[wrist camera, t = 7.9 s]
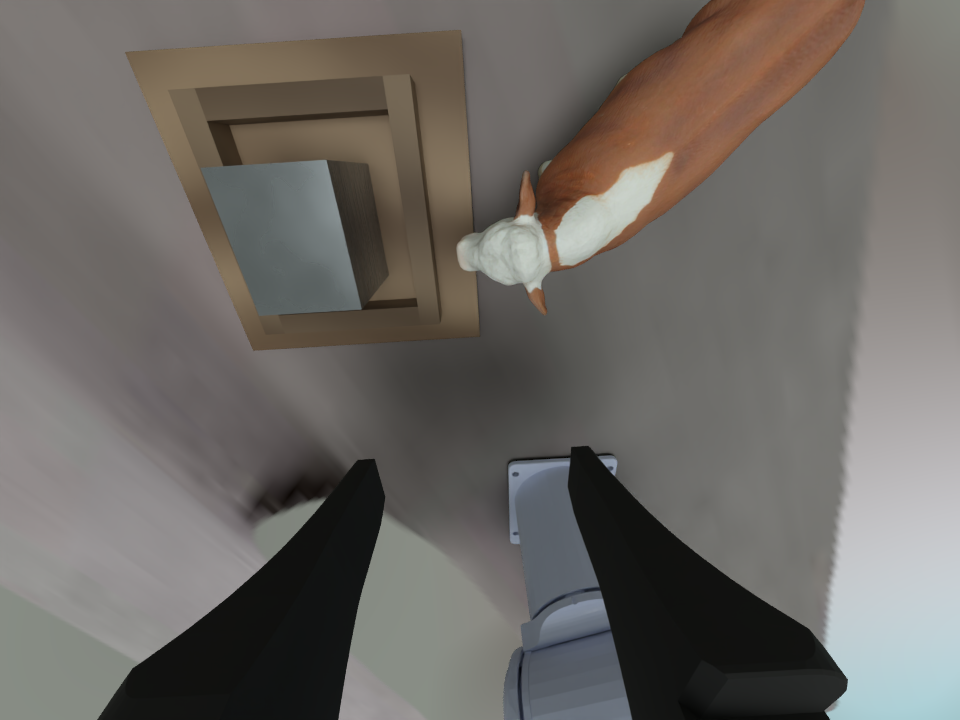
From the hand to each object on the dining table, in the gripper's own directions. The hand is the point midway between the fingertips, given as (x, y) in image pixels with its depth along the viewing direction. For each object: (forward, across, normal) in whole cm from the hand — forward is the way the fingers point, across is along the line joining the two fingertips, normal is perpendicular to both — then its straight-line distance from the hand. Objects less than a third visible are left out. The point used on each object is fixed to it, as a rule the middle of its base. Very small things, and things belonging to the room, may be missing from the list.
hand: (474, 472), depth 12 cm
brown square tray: (+9, +6, -8) cm, 14 cm away
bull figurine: (+10, -6, -10) cm, 15 cm away
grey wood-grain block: (+9, +6, -8) cm, 13 cm away
